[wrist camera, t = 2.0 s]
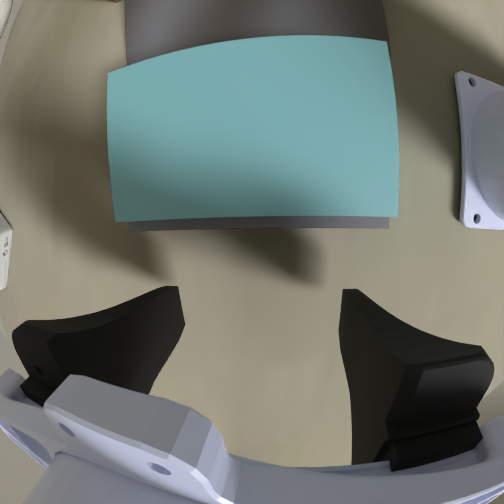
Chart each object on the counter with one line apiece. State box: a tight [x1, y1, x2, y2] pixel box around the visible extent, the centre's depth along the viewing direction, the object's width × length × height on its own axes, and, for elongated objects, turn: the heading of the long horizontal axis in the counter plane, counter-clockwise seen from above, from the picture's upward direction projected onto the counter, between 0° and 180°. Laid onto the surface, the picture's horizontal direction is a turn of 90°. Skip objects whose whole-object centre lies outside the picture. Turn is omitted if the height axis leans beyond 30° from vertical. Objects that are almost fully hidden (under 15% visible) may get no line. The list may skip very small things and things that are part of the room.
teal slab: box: [107, 35, 399, 232], centre depth 10 cm, size 10×7×4 cm, turn 93°
